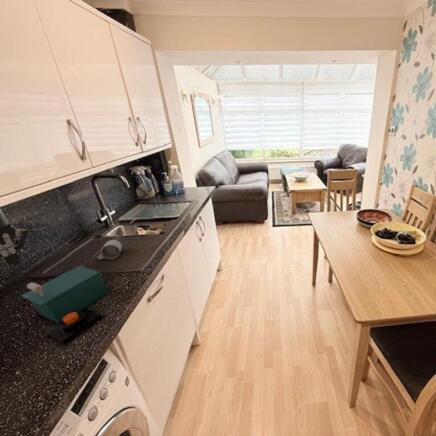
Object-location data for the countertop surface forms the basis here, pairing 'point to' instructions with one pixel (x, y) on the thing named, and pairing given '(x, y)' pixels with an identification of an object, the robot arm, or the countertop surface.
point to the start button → (70, 318)
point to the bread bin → (73, 299)
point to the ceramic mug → (110, 250)
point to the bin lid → (59, 285)
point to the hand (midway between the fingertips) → (15, 264)
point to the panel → (74, 326)
